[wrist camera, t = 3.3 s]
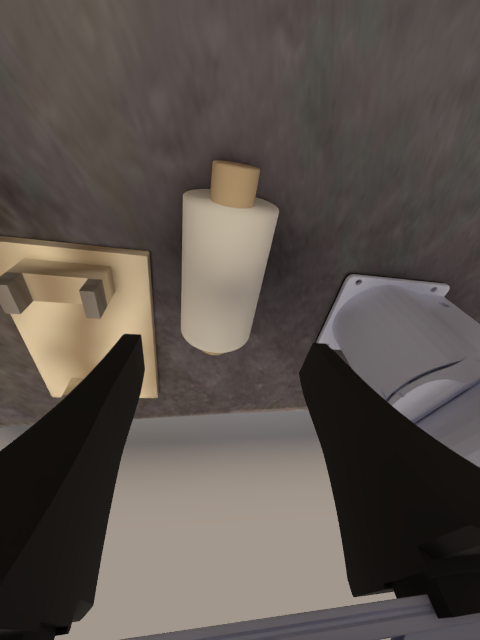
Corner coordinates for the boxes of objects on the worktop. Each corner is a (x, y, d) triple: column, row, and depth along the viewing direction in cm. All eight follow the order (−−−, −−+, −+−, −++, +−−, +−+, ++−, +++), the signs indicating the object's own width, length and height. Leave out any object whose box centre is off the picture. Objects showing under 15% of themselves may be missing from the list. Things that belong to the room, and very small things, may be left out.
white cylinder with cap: (275, 166, 15) (300, 184, 11) (242, 325, 23) (249, 370, 18) (187, 150, 14) (178, 163, 10) (183, 321, 22) (177, 368, 18)
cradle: (149, 251, 17) (136, 280, 14) (158, 391, 27) (152, 426, 24) (-19, 233, 16) (-75, 262, 13) (56, 390, 25) (34, 428, 22)
